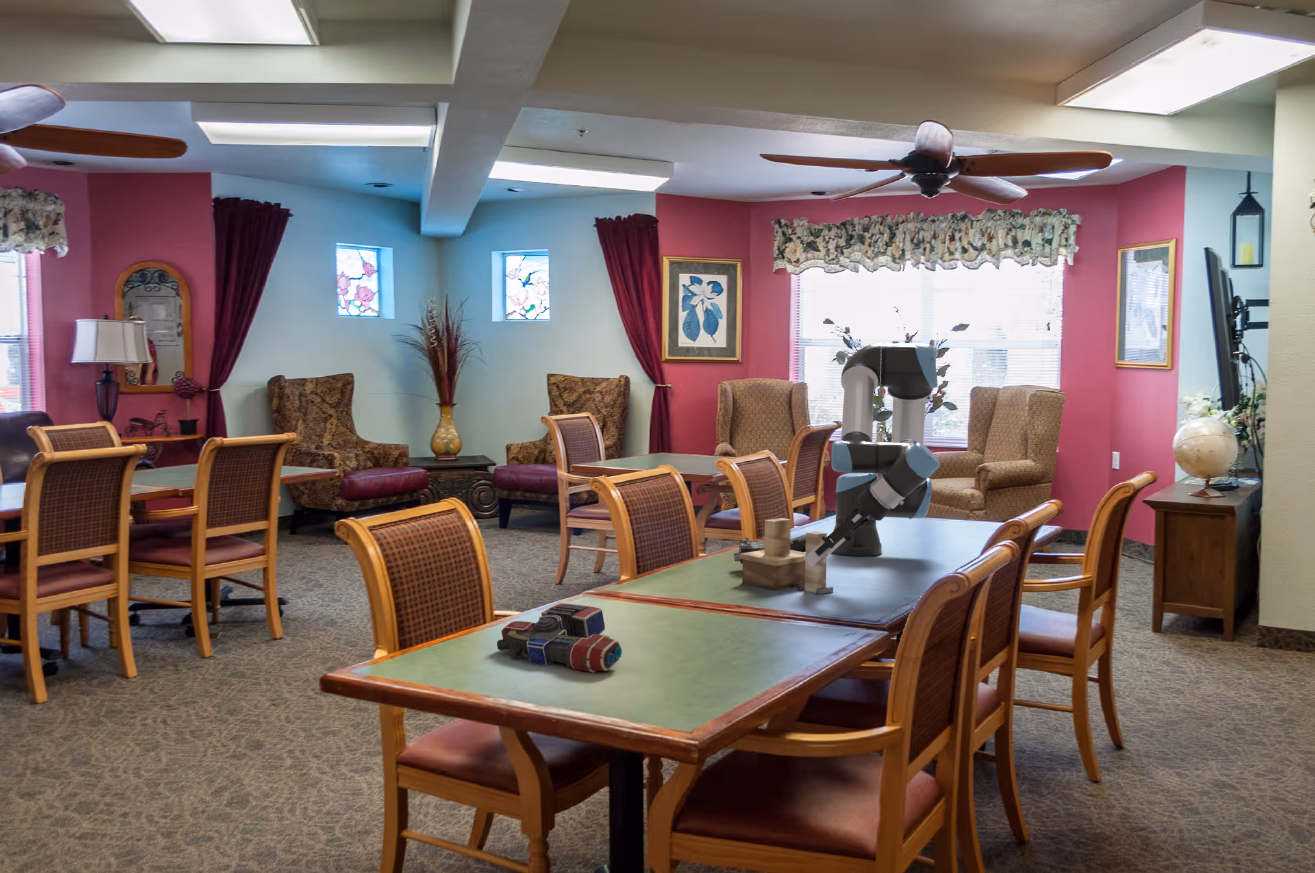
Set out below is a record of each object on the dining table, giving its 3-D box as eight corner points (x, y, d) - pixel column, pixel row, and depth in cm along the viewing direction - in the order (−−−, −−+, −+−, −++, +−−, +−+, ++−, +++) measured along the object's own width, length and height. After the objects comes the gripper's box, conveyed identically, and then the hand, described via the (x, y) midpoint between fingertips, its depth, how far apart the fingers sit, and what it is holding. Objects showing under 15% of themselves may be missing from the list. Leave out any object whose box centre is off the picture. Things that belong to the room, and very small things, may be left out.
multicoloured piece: (598, 652, 165) (656, 601, 182) (481, 635, 178) (545, 589, 195) (605, 694, 167) (662, 639, 184) (489, 675, 180) (552, 625, 197)
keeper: (801, 585, 242) (801, 580, 242) (833, 592, 235) (833, 587, 235) (787, 587, 239) (787, 582, 239) (819, 594, 231) (819, 589, 231)
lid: (778, 552, 253) (779, 514, 253) (814, 559, 244) (815, 520, 243) (739, 558, 244) (740, 519, 244) (775, 565, 235) (776, 525, 234)
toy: (814, 574, 256) (815, 535, 255) (734, 572, 256) (735, 534, 256) (810, 569, 263) (811, 531, 262) (733, 567, 263) (733, 530, 263)
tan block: (814, 588, 238) (815, 531, 237) (825, 591, 235) (827, 532, 235) (804, 590, 236) (805, 532, 235) (816, 593, 233) (817, 534, 232)
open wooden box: (778, 576, 253) (778, 552, 252) (811, 583, 244) (811, 559, 244) (742, 582, 244) (742, 558, 244) (775, 590, 236) (775, 565, 236)
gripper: (881, 517, 215) (812, 579, 222) (901, 504, 238) (838, 561, 245) (857, 491, 217) (790, 554, 224) (879, 481, 240) (817, 538, 247)
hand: (815, 557), depth 235 cm, fingers open, 13 cm apart
